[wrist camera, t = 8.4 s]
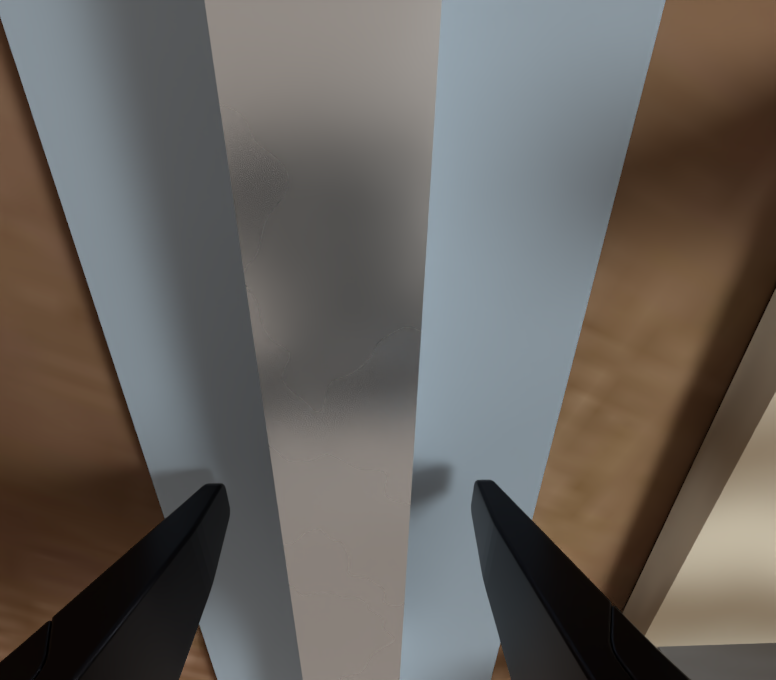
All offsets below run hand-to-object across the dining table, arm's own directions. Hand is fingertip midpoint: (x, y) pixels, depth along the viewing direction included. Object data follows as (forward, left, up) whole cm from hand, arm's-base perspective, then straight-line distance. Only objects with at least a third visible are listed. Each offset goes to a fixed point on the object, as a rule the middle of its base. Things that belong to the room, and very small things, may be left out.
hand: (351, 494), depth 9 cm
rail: (0, 0, -1) cm, 1 cm away
